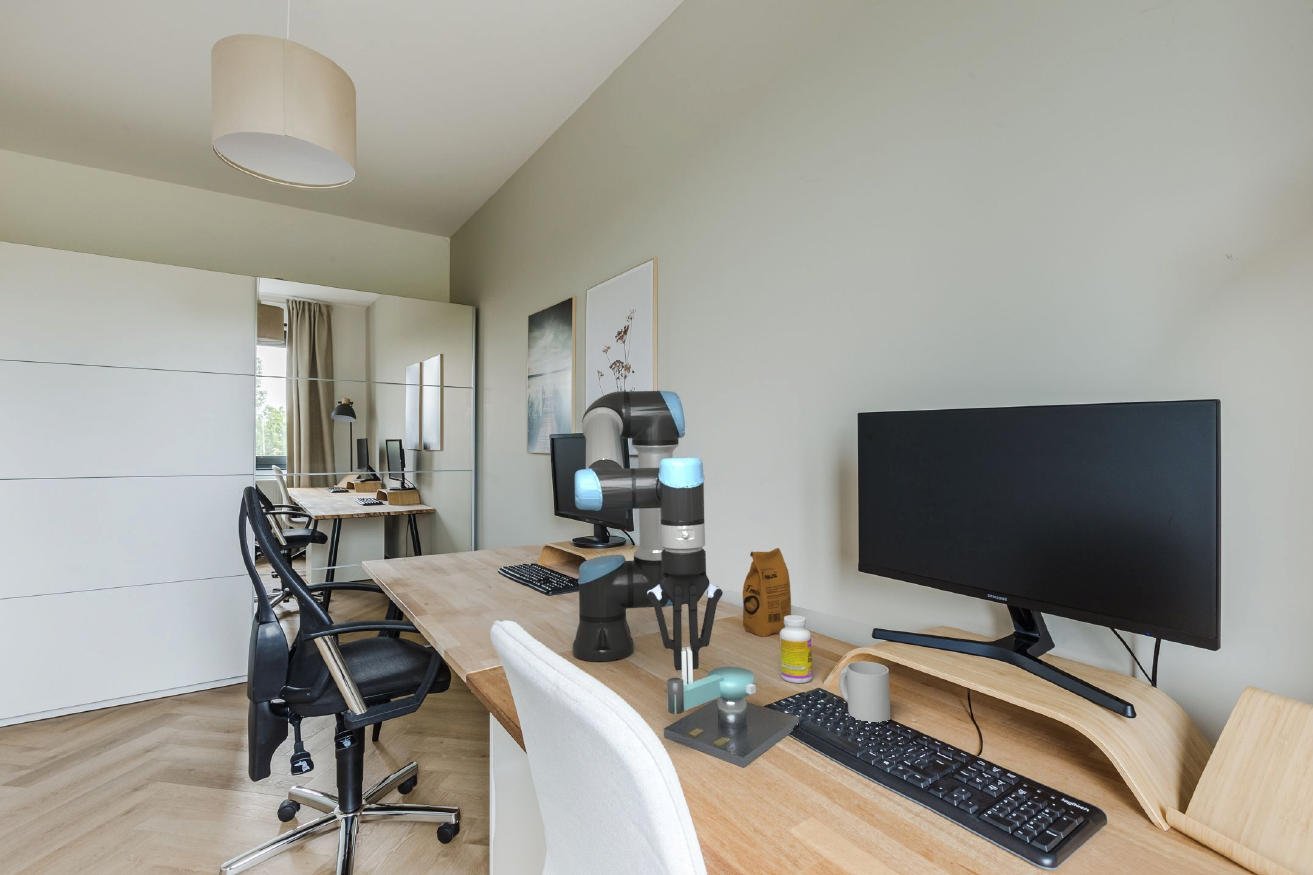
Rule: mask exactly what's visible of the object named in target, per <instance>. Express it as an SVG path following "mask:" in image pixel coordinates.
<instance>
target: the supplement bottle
mask: <svg viewBox="0 0 1313 875" xmlns="http://www.w3.org/2000/svg"><path fill="white" fill-rule="evenodd" d="M784 625H785V628H783V629H782V630H781V631H780V634H779V652H780V653H779V655H780V656H779V657H780V659H779V660H780V661H779V662H780V677H781V679H782V680H784V681H786V682H789V683H793V684H805V683H808V682H810V681H812V679H813V654H812V653H813V652H812V650H813V649H812V647H813V646H812V634H811V632H810V631H809V630H808V629H807V628H806V625H807V619H806V617H805V616H803V615H802V616H801V615H796V614H791V615H788V616H785V617H784Z"/></svg>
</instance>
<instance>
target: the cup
mask: <svg viewBox="0 0 1313 875" xmlns="http://www.w3.org/2000/svg"><path fill="white" fill-rule="evenodd" d="M838 687H839V692H840V694H841V697H842V698H843V700H844V701H845V702H846V703H847V712H849V714H850V715H851V716H852V717H854V718H856V719H857V720H861V721H868V722H879V723H880V722H882V721H886V720H891V698H890V696H891V695H890V694H891V693H890V670H889V668H888V667H887V666H886V665H884V664H882V663H878V662H873V661H865V660H860V661H853V662H849V663H847V664H846V666H844V667H843V668H842V669H841V671H840V673H839V677H838ZM849 714H848V715H849Z"/></svg>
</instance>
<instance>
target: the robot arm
mask: <svg viewBox="0 0 1313 875" xmlns="http://www.w3.org/2000/svg"><path fill="white" fill-rule="evenodd" d="M581 431H582V434H583V436H584V438H585V469H584V468H583V469H578V470H577V471H576V472H575V474H574V502H575V507H576V508H577V509H578V510H582V511H583V510H584V511H596V512H598V511H610V510H611V511H612V510H613V511H614V510H637V509H638V521H639V523H638V526H639V528H638V529H639V531H638V533H639V534H638V535H639V546H638V548H637V549H635V551H634V552H633V559H632V560H626V557H625V555H624V554H608V555H603V556H597V557H593V558H589V559H587V560H584V561H583V562H582V563H581V564H580V566H579V568H578V580H577V583H578V593H579V594H578V600H579V601H578V603H579V604H578V605H579V606H578V609H579V610H578V611H579V612H578V616H579V619H578V620H579V622H578V625H577V626H578V627H577V630H576V634H575V639H574V640H573V643H572V655H573V656H574V657H575V658H577V659H578V658H579V660H581V659H583V660H582V661H586V662H600V661H601V662H612V661H617V660H616V659H618V660H621V659H624V658H627V657H629V656H632V654H633V653H634V650H635V647H634V646H635V643H634V638H633V637H632V634H631V631H630V627H629V626H630V625H629V624H628V621H627V609H642V608H643V609H644V608H645V609H646V608H654V612H655V617H656V620H657V625H658V628H659V633H660V636H661V640H662V644H663V647H664V648H665V649H666V650H668V649H670V650H671V651H672V652H673V667H674V668H675V671H680V678H681V679H683V683H684V685H686V684H689V683H692V682H694V673H693V672H694V671H693V670H698V669H699V667H700V663H699V662H700V661H699V660H700V656H699V651H700V650H701V648H704V647H706V648H707V647H708V646H709V645H710V641H711V636H712V631H713V626H714V621H715V615H716V611H717V607H718V606H717V605H718V602H719V601H720V599H721V598H722V596H723V590H722V589H721V588H720V587H719V585H716V586H715V585H714V584H712V583H711V582H710V579H709V577H708V575H707V560H706V559H707V558H706V557H707V556H706V551H705V549H704V547H705V546H706V531H705V530H706V528H705V525H706V524H705V486H704V485H705V475H704V465H703V464H704V463H703V461H702V459H701V458H699V457H688V456H686V457H673V456H674V455H673V453H674V452H675V450H676V448H678V447H679V444H680V443H679V439H682V438H684V437H685V435H686V422H685V414H684V409H683V404H682V401H681V398H680V396H679V395H678V394H677V393H676V392H675V391H669V390H660V389H659V390H642V391H641V390H639V391H636V390H635V391H633V390H631V391H624V390H621V391H620V390H619V391H613V392H609V393H607V394H605V395H603V396H600V397H598V398H597V399H596V400H594V401H593V402H592V403H591V404H590V405H589V406H588V407H587V409H586V410H585V412H584V413H583V416H582V420H581ZM621 439H631V446H632V448H633V449H635V451H637V454H638V457H637V458H638V465H637V466H638V467H636V468H634V467H632V468H631V467H630V468H627V467H626V468H625V467H624V462H623V452H622V444H621V443H622V442H621ZM705 592H706V595H707V597H708V598H707V601H706V607H705V612H704V616H703V621H702V622H703V623H702V627H701V632H700V637H699V623H698V622H699V621H698V620H699V619H698V617H699V616H698V602H699V601H700V600H701V599H702V597H703V595H704V594H705ZM684 605H687V608H688V609H687V610H688V628H689V635H688V636H689V646H683V642H682V638H683V634H682V633H683V632H682V628H683V627H682V625H683V624H682V620H683V619H682V611H683V610H682V609H683V608H682V607H683V606H684ZM666 607H672V638H670V634H669V632H668V627H667V623H666V620H665V616H664V611H663V608H666Z"/></svg>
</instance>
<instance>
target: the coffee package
mask: <svg viewBox="0 0 1313 875" xmlns="http://www.w3.org/2000/svg"><path fill="white" fill-rule="evenodd" d="M749 555H750V557H751V558H752V562H751V564H750V568H749V571H748V572H747V575H746V576H745V580H744V582H743V587H742V607H743V608H742V609H743V610H742V613H743V614H742V618H743V619H742V622H743V623H742V625H743V627H744V631H745V632H749V633H751V634H753V635H756V636H758V637H763V638H765V637H768V636H771V635H774V634H776V635H780V631H781V630H782V629H783V628H785V625H784V617H785V616H788V615H792V595H791V594H792V593H791V583H790V582H791V581H790V575H789V574H790V573H789V570H788V567H787V563H786V562H785V560H784V556H783V554H782V551H781V549H780V547H776V548H774V549H772V550H771V551H750V554H749Z"/></svg>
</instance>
